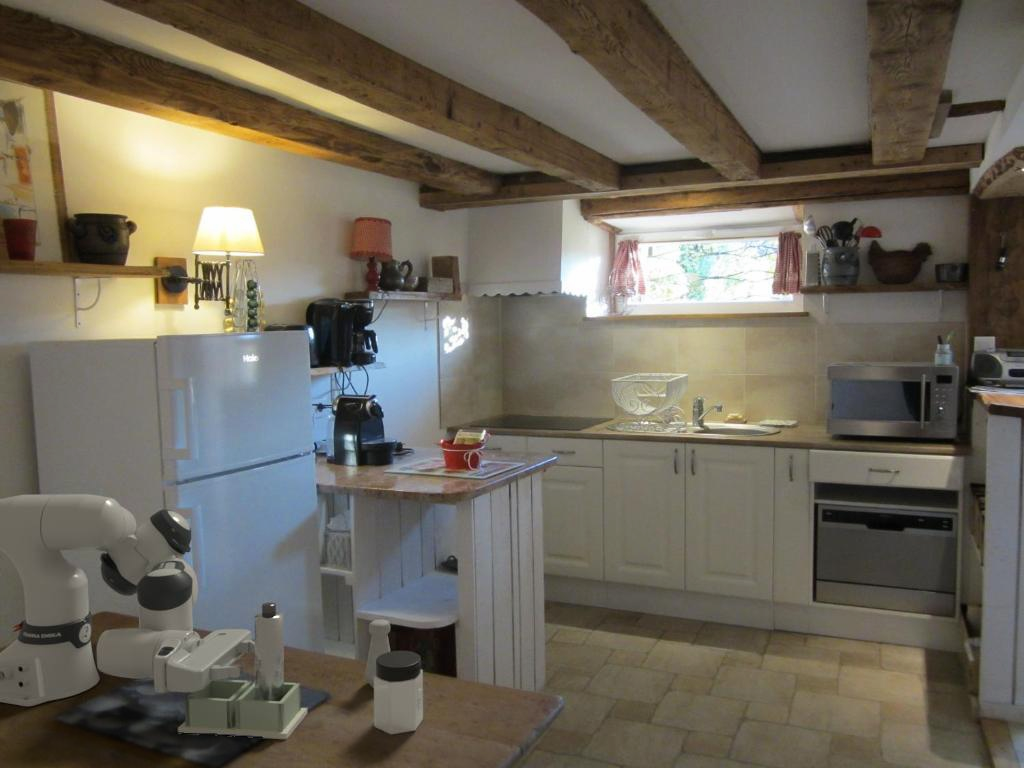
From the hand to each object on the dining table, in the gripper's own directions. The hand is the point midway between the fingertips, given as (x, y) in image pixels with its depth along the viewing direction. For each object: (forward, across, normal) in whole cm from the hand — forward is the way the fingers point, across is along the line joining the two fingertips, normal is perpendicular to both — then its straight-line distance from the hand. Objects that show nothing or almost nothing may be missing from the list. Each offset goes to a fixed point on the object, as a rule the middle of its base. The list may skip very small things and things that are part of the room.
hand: (252, 660), depth 146 cm
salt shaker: (+18, -19, -12) cm, 29 cm away
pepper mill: (+3, 0, -11) cm, 11 cm away
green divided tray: (-2, 0, -12) cm, 12 cm away
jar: (+26, -3, -12) cm, 29 cm away
